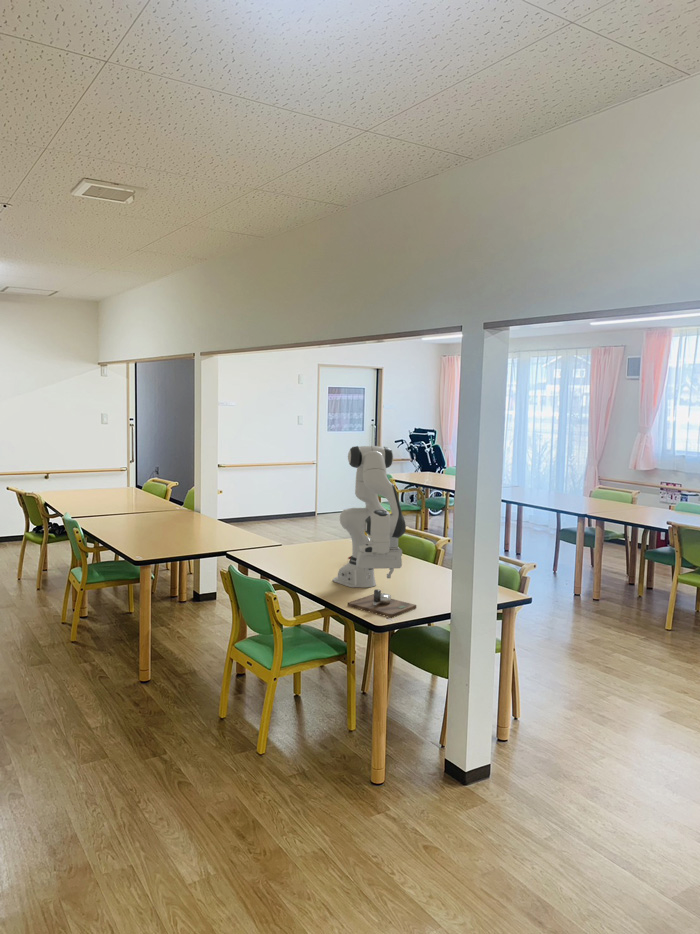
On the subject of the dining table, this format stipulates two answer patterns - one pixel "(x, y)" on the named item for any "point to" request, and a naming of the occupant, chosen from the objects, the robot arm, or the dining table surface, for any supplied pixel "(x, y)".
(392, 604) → the board
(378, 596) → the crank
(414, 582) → the dining table surface
